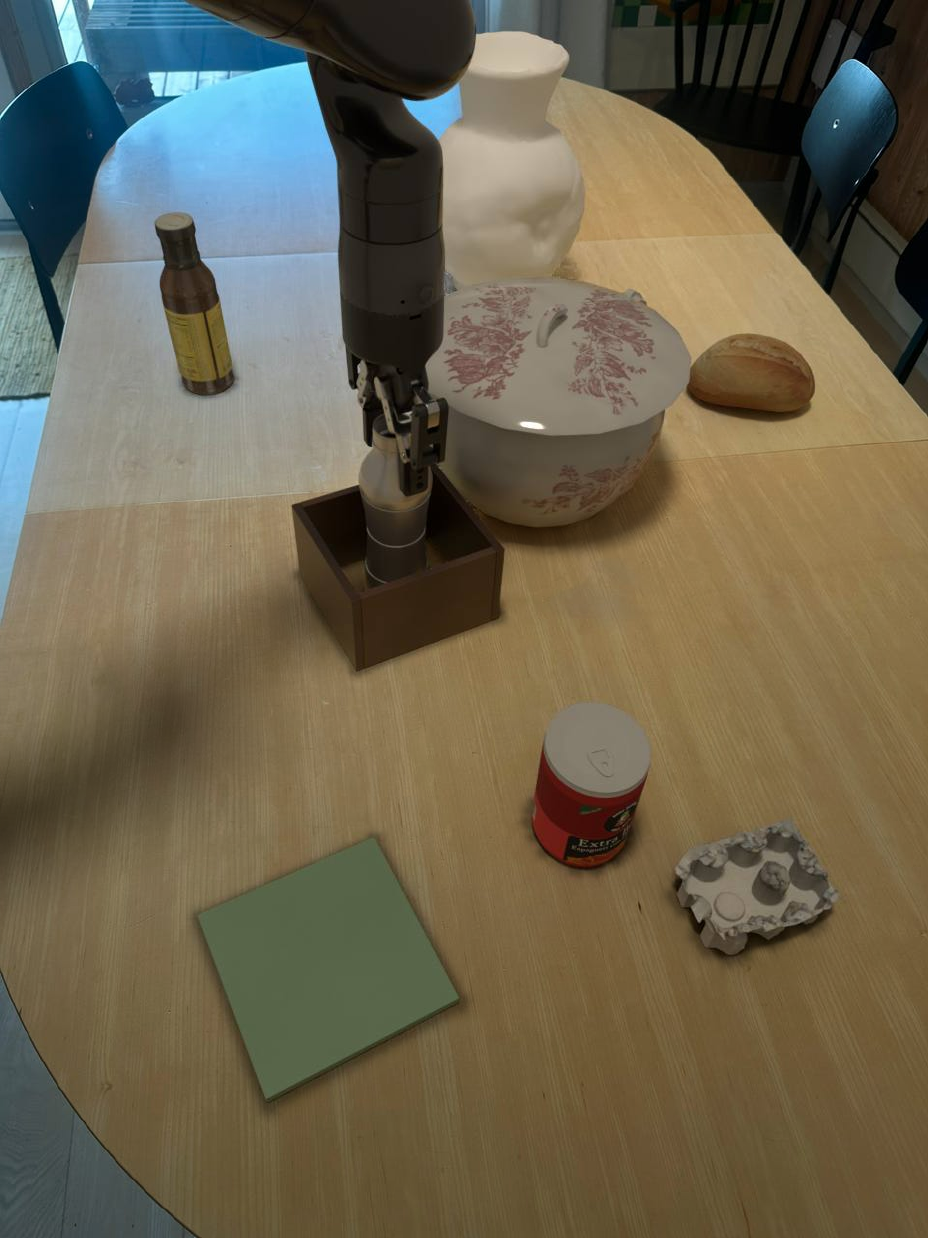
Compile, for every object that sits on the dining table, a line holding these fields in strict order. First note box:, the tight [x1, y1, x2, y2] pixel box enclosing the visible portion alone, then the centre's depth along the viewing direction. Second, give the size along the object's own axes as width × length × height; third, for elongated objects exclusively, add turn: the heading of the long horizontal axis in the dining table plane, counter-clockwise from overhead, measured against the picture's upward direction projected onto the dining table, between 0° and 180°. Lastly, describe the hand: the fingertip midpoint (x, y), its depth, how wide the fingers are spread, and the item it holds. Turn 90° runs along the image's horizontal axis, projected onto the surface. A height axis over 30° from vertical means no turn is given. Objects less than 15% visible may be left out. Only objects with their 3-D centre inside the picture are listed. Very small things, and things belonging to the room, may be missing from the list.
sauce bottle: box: [154, 211, 234, 396], centre depth 108 cm, size 6×6×20 cm
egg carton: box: [674, 817, 841, 956], centre depth 72 cm, size 11×8×4 cm
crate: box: [291, 464, 506, 672], centre depth 90 cm, size 15×14×9 cm
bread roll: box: [687, 332, 816, 413], centre depth 114 cm, size 10×15×8 cm, turn 80°
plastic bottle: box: [357, 413, 433, 591], centre depth 86 cm, size 6×7×20 cm
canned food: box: [531, 701, 652, 868], centre depth 73 cm, size 8×8×11 cm
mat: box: [196, 836, 460, 1104], centre depth 68 cm, size 14×14×1 cm
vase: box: [438, 30, 586, 291], centre depth 122 cm, size 19×21×30 cm
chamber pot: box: [425, 276, 692, 529], centre depth 98 cm, size 28×28×21 cm
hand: (395, 466), depth 81 cm, fingers open, 6 cm apart
